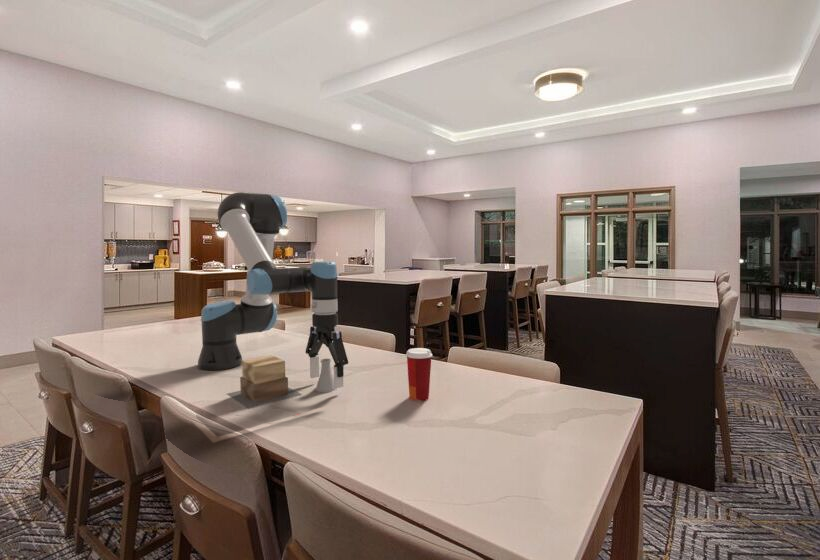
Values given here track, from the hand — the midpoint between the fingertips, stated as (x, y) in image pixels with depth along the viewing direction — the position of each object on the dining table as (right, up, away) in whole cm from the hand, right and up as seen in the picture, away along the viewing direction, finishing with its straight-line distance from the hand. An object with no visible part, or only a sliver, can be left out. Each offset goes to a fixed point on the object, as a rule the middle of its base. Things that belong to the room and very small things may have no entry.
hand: (326, 382), depth 132 cm
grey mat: (-17, -3, -5) cm, 18 cm away
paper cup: (+28, -4, -5) cm, 29 cm away
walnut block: (-17, -2, -5) cm, 18 cm away
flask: (0, -3, 0) cm, 3 cm away
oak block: (-17, +3, -5) cm, 18 cm away
